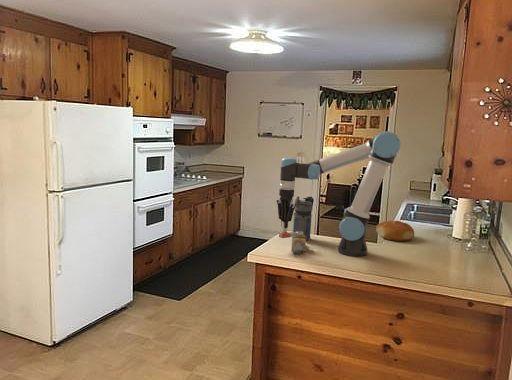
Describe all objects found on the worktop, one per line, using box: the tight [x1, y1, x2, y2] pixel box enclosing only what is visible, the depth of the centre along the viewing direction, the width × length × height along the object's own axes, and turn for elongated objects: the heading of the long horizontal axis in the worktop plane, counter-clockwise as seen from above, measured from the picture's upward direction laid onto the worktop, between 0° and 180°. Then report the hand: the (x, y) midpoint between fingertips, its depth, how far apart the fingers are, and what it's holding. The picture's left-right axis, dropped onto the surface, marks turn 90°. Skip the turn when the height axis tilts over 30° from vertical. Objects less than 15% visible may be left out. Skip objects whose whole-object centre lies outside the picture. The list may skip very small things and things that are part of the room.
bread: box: [375, 220, 415, 242], centre depth 254 cm, size 23×23×10 cm
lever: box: [278, 231, 303, 239], centre depth 215 cm, size 14×4×2 cm, turn 122°
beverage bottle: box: [292, 196, 315, 241], centre depth 239 cm, size 10×13×25 cm
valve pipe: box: [290, 235, 307, 255], centre depth 218 cm, size 18×7×8 cm, turn 171°
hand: (284, 233), depth 214 cm, fingers closed
